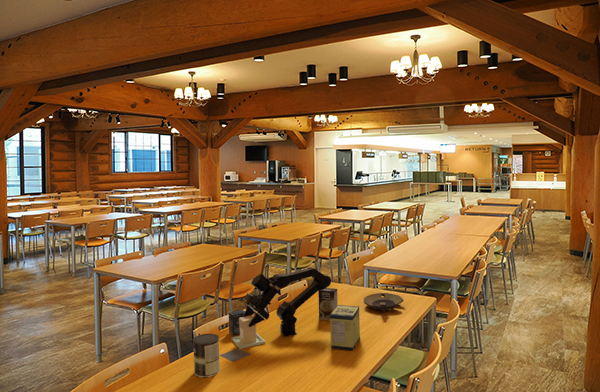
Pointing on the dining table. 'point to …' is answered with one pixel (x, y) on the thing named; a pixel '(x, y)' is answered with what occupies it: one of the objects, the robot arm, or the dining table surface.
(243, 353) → the mat
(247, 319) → the carton
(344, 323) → the protein box
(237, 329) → the box
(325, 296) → the coffee box
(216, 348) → the coffee can
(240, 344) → the tray
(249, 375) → the dining table surface
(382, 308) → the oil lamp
